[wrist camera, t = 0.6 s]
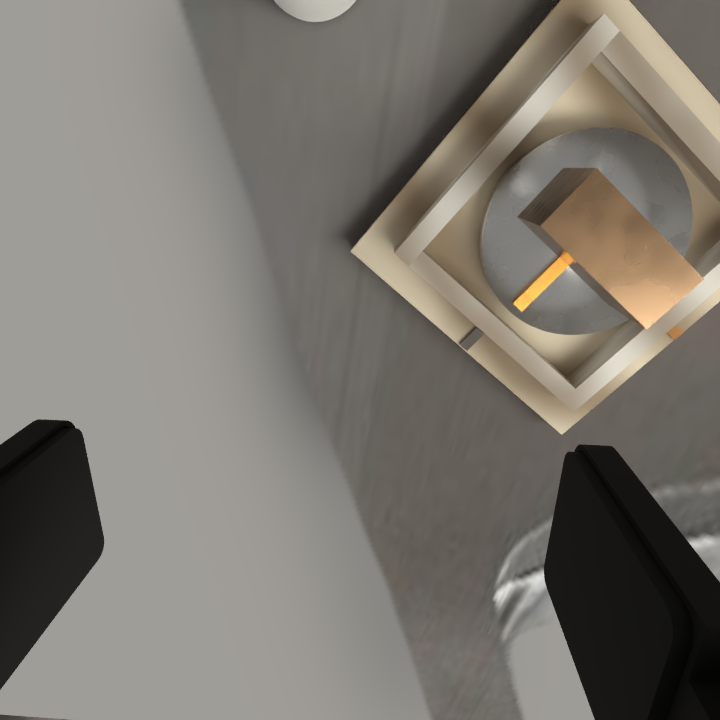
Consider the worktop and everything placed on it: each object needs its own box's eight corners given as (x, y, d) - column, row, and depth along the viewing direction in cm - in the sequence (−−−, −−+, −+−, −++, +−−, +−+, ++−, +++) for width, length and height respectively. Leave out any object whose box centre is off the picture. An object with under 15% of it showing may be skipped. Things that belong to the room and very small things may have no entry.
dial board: (584, -29, 28) (609, -55, 25) (800, 215, 32) (846, 220, 28) (352, 247, 34) (347, 256, 31) (555, 424, 38) (570, 449, 35)
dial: (587, 81, 28) (643, 56, 22) (721, 225, 31) (806, 240, 24) (438, 245, 32) (449, 264, 26) (567, 362, 34) (607, 407, 28)
